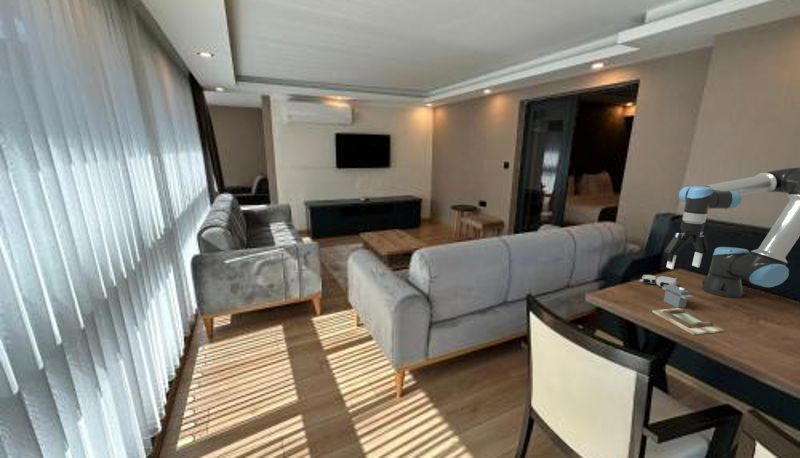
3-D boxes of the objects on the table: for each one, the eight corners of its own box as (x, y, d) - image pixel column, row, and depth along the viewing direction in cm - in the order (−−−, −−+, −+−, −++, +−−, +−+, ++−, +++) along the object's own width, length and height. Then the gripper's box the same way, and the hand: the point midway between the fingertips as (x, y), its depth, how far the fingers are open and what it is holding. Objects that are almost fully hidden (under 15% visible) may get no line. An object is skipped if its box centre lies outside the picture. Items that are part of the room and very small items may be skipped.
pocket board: (679, 309, 144) (680, 304, 143) (723, 331, 126) (725, 326, 126) (652, 312, 142) (653, 307, 141) (693, 334, 124) (694, 329, 124)
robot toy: (638, 285, 171) (674, 292, 160) (638, 277, 170) (675, 284, 159) (642, 279, 179) (677, 285, 168) (643, 271, 178) (678, 277, 167)
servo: (666, 298, 154) (670, 281, 152) (689, 309, 144) (694, 291, 142) (659, 299, 154) (663, 281, 152) (682, 310, 143) (686, 291, 141)
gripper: (708, 218, 144) (697, 262, 149) (660, 221, 141) (651, 266, 146) (726, 222, 137) (715, 268, 142) (676, 225, 133) (666, 272, 139)
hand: (682, 267), depth 144 cm, fingers open, 13 cm apart
